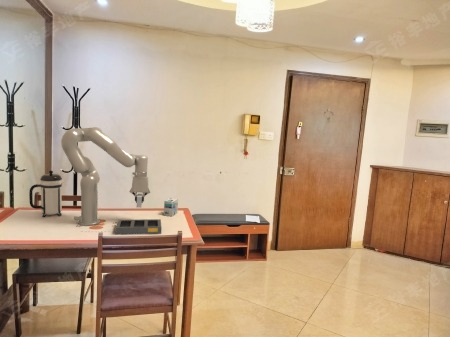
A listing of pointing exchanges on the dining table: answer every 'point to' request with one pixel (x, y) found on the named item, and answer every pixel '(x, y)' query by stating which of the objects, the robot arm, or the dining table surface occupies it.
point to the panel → (139, 200)
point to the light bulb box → (170, 207)
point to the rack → (138, 226)
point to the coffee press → (49, 194)
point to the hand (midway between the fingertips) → (139, 202)
